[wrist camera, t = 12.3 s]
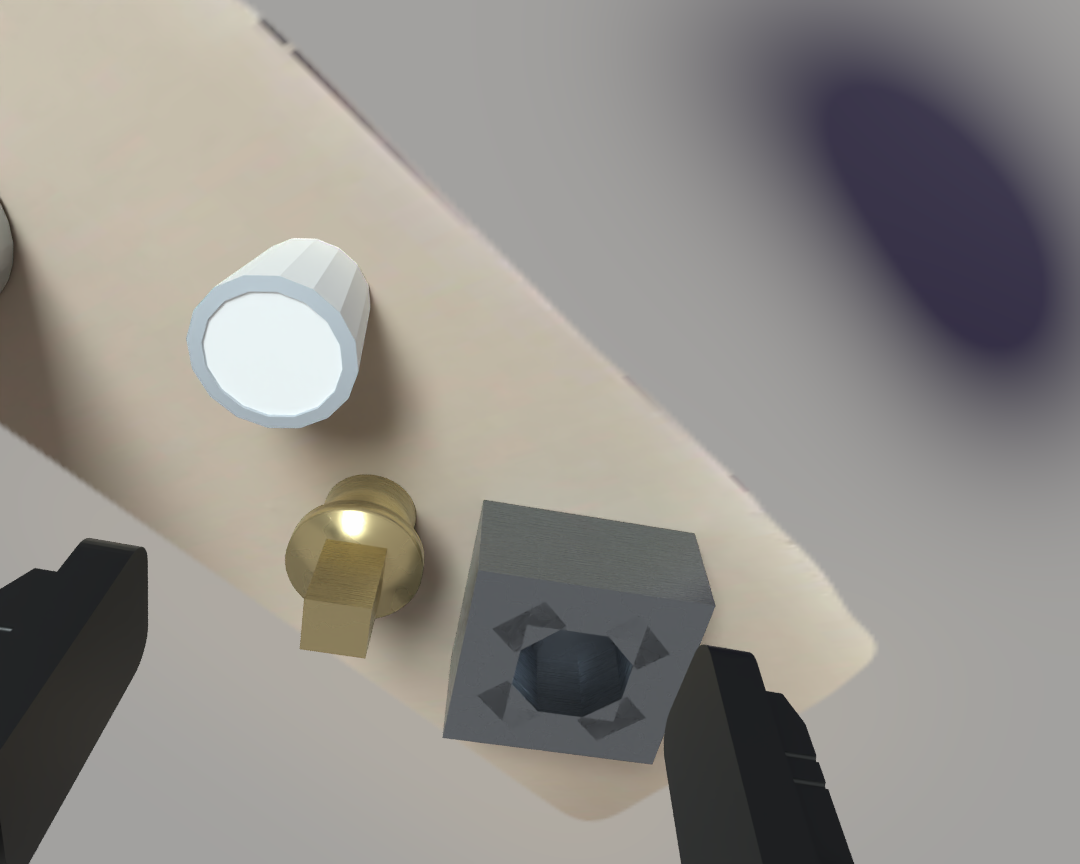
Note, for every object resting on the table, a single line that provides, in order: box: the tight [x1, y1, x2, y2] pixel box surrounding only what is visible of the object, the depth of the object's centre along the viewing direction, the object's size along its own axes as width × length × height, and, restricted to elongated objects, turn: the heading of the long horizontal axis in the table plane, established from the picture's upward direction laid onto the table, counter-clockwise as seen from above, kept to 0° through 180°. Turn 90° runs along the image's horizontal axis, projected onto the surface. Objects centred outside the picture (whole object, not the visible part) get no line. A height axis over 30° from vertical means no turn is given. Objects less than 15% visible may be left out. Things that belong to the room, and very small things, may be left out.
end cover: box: [285, 475, 424, 658], centre depth 42 cm, size 7×7×9 cm
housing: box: [443, 500, 715, 764], centre depth 47 cm, size 12×12×6 cm
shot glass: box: [186, 238, 370, 428], centre depth 37 cm, size 7×7×7 cm
